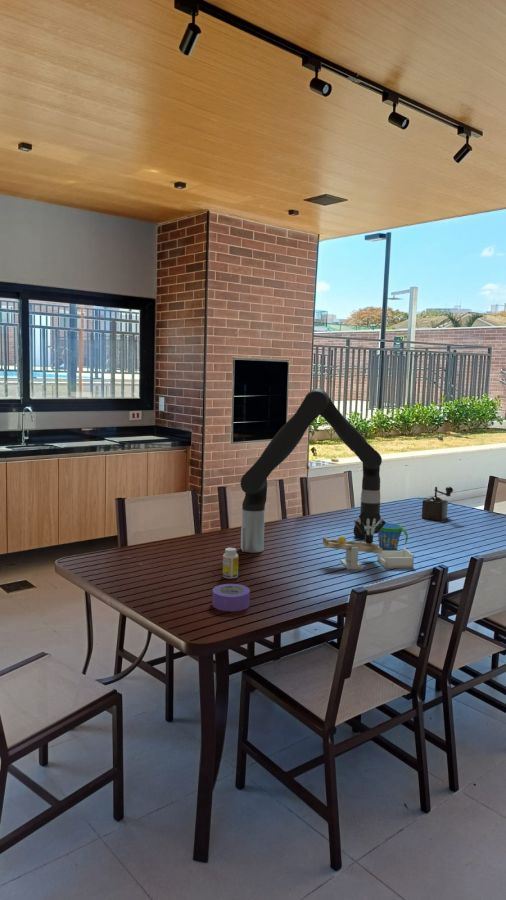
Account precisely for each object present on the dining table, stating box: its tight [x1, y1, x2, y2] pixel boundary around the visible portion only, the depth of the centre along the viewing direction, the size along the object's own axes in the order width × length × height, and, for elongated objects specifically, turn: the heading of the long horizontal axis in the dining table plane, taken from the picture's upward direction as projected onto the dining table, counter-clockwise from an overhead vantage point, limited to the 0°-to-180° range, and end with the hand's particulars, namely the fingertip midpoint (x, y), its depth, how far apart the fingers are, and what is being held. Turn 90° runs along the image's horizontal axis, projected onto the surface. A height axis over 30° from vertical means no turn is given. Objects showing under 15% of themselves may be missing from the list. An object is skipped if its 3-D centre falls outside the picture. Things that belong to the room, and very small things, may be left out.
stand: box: [339, 547, 364, 570], centre depth 249 cm, size 6×11×8 cm, turn 6°
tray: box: [377, 547, 415, 569], centre depth 252 cm, size 11×10×5 cm
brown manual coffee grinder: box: [421, 486, 454, 522], centre depth 335 cm, size 16×11×18 cm
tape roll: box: [212, 583, 251, 612], centre depth 203 cm, size 12×12×5 cm
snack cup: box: [375, 522, 409, 551], centre depth 273 cm, size 16×10×10 cm
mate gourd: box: [353, 518, 365, 539], centre depth 293 cm, size 7×8×10 cm
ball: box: [337, 535, 347, 544], centre depth 248 cm, size 3×3×3 cm
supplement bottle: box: [222, 547, 239, 580], centre depth 231 cm, size 6×6×10 cm
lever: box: [322, 536, 383, 554], centre depth 252 cm, size 22×12×3 cm, turn 96°
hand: (368, 543), depth 256 cm, fingers closed
